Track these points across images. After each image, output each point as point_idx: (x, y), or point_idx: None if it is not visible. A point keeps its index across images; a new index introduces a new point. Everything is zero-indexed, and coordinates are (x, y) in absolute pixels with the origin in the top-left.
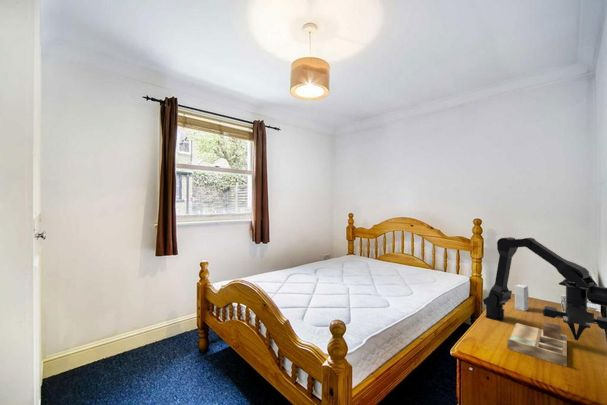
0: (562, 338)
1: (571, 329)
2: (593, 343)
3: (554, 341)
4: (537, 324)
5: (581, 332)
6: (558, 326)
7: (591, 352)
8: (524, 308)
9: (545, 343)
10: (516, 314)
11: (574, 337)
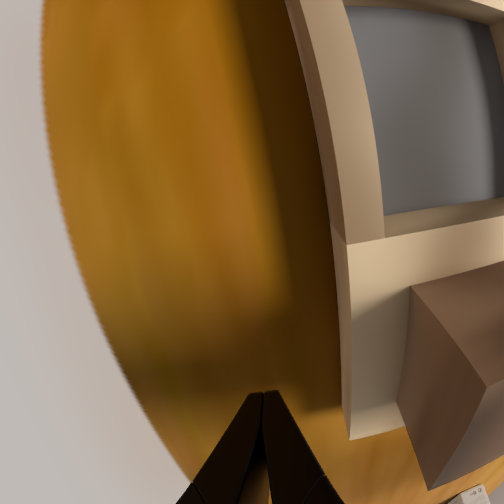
0: (387, 355)
1: (328, 501)
2: None
3: (449, 218)
4: None
5: (185, 496)
6: (460, 462)
7: (154, 324)
8: (461, 501)
9: (485, 149)
10: None
11: (282, 408)
